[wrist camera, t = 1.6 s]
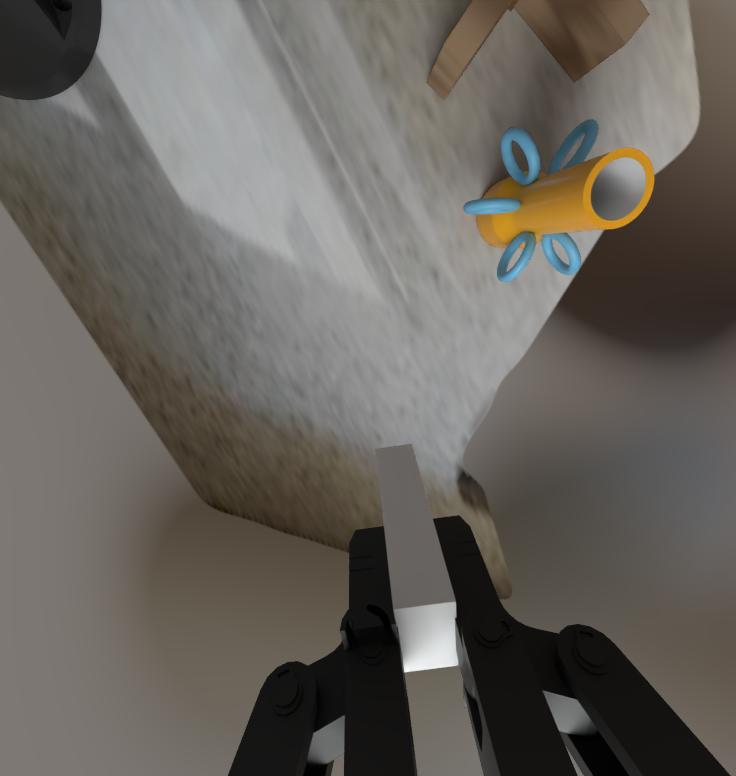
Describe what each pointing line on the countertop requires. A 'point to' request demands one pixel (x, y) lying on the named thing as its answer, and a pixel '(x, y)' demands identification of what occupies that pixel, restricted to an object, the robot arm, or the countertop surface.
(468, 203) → the yellow and blue tube
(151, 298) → the countertop surface
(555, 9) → the v block
